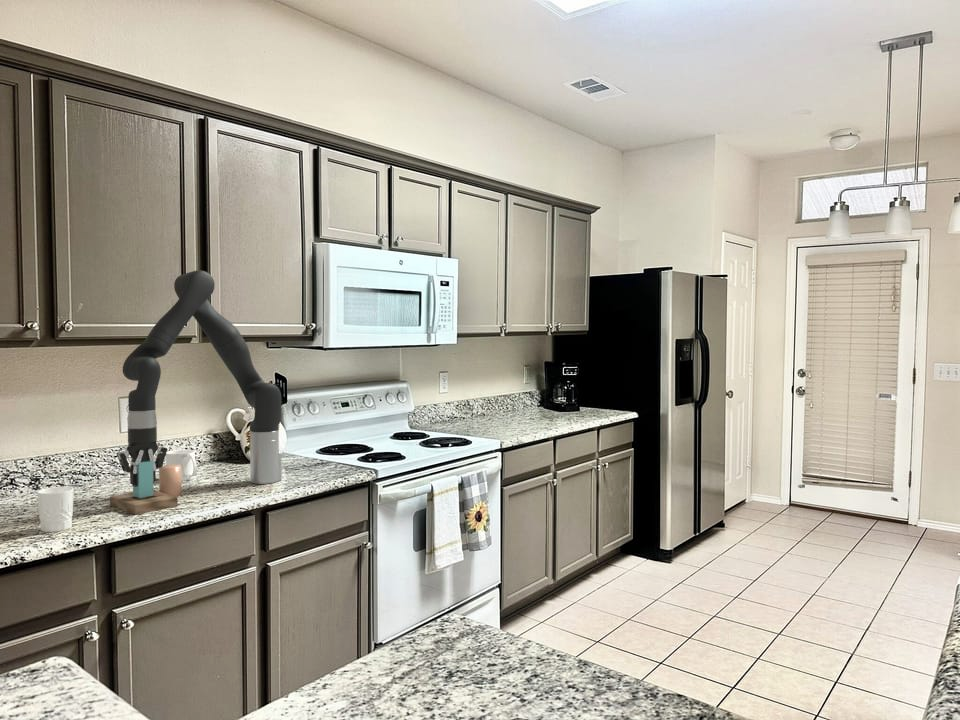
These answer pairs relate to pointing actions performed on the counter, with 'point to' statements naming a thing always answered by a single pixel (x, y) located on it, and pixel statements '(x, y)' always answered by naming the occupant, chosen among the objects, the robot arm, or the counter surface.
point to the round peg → (170, 480)
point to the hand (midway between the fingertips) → (143, 484)
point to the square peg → (144, 480)
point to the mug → (183, 462)
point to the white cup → (55, 508)
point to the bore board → (143, 502)
